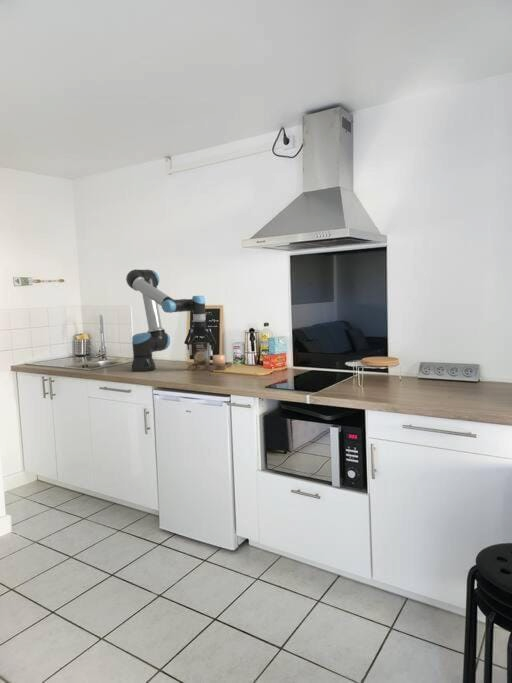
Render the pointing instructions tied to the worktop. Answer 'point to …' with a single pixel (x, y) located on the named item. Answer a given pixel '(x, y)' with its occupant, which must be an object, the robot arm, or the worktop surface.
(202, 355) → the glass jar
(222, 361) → the light brown rounded block
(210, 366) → the caddy
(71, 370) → the worktop surface
